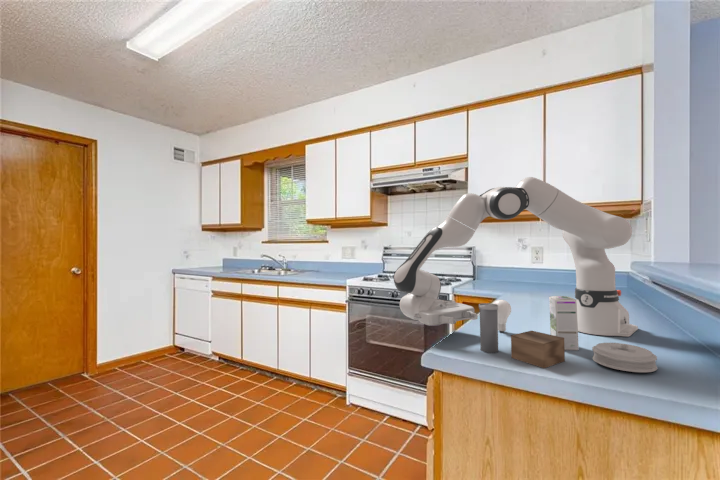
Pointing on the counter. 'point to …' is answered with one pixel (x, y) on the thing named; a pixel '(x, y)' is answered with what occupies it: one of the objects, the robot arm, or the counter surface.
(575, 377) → the counter surface
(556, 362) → the walnut stand
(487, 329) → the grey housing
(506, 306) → the lightbulb
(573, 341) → the syrup box
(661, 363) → the counter surface
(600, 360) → the lid
